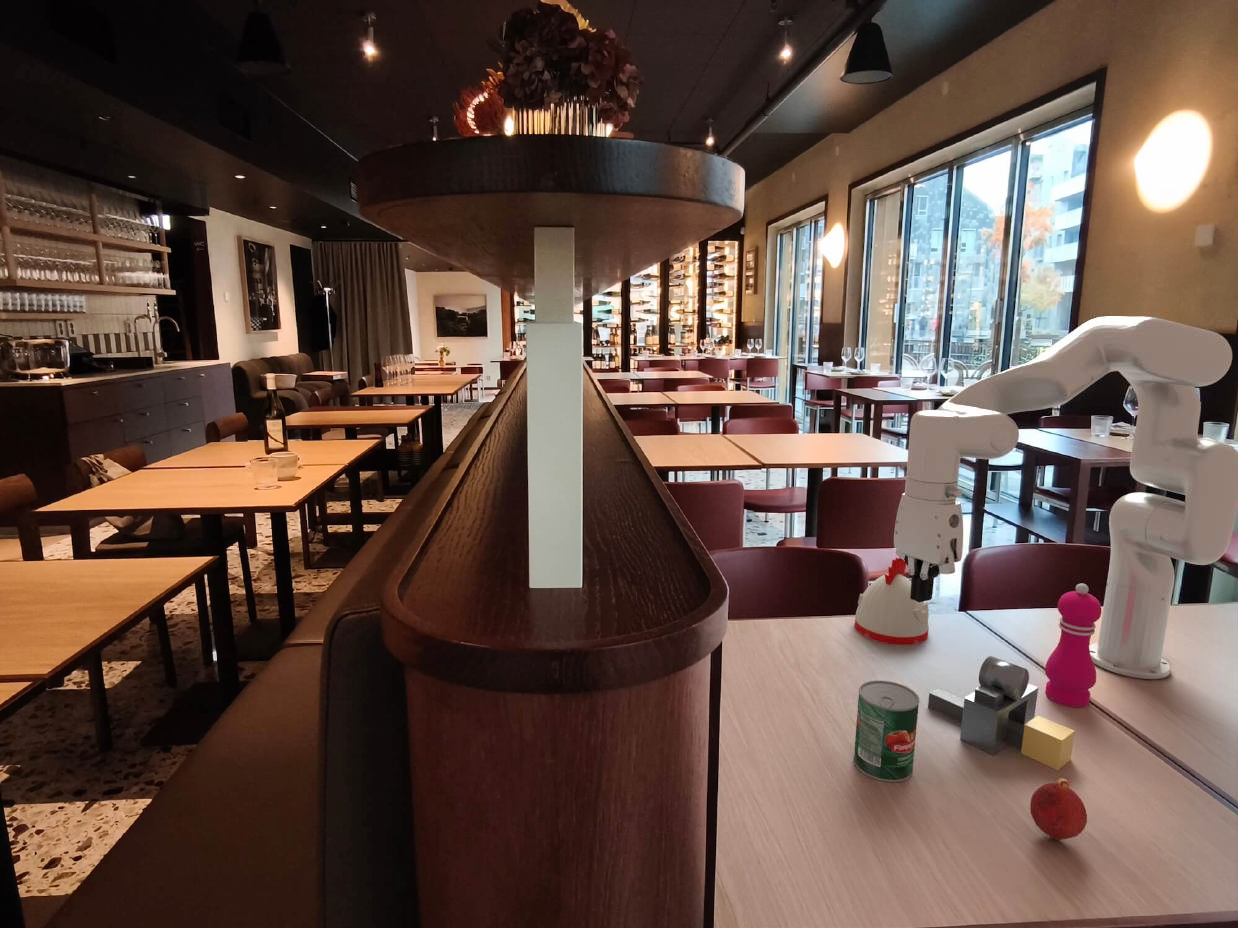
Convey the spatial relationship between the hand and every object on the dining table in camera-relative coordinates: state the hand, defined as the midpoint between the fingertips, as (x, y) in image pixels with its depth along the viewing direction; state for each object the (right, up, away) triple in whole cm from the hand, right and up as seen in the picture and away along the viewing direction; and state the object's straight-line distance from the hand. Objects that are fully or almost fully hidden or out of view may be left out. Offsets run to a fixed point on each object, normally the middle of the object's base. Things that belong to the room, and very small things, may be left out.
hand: (920, 599), depth 118 cm
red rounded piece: (+4, -24, -30) cm, 38 cm away
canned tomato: (-12, -21, -16) cm, 28 cm away
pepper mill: (+25, -17, +3) cm, 31 cm away
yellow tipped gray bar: (+8, -19, -8) cm, 22 cm away
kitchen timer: (+6, -12, +29) cm, 32 cm away
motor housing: (+8, -19, -8) cm, 22 cm away
